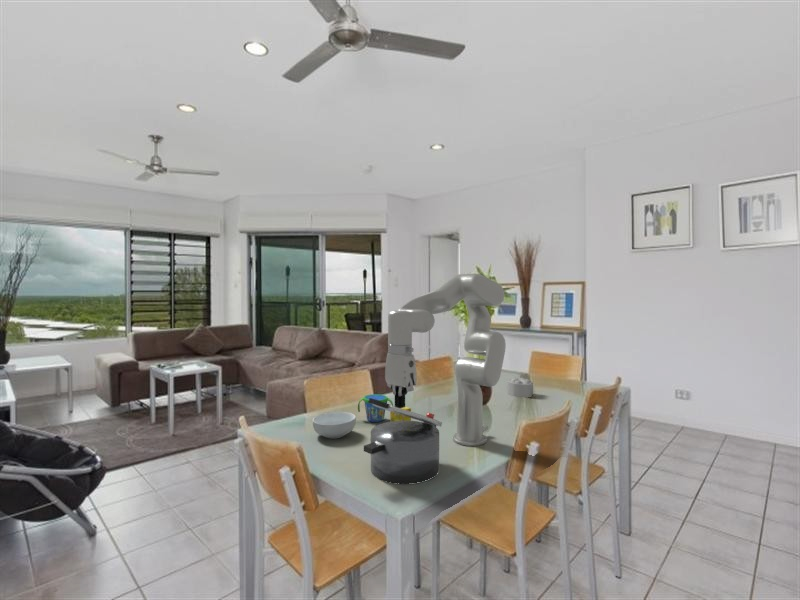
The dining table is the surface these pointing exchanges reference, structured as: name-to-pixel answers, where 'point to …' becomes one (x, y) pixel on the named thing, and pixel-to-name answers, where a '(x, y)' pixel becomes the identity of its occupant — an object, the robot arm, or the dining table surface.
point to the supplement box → (399, 416)
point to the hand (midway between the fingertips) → (399, 407)
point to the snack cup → (374, 407)
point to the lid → (406, 412)
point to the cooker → (404, 451)
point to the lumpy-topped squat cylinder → (520, 387)
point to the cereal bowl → (334, 424)
